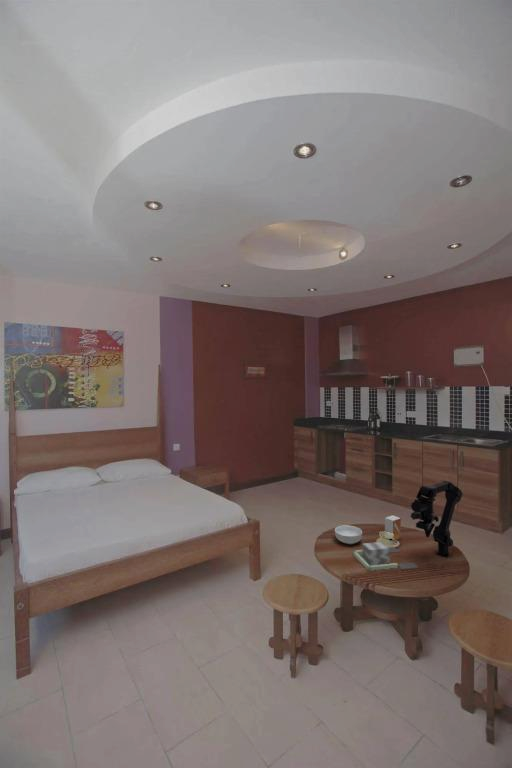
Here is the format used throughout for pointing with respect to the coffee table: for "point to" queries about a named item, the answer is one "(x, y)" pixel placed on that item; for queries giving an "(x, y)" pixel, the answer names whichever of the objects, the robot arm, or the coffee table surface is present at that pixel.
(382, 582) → the coffee table surface
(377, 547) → the block
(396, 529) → the small box
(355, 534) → the cereal bowl
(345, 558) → the coffee table surface
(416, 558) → the coffee table surface
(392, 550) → the green u-shaped guide frame
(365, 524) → the coffee table surface
